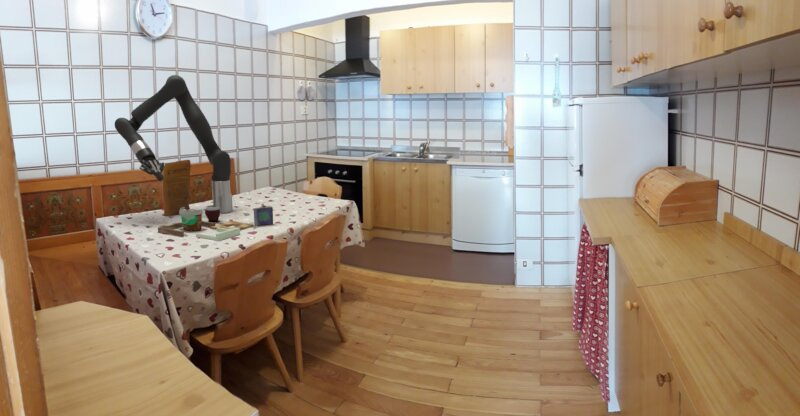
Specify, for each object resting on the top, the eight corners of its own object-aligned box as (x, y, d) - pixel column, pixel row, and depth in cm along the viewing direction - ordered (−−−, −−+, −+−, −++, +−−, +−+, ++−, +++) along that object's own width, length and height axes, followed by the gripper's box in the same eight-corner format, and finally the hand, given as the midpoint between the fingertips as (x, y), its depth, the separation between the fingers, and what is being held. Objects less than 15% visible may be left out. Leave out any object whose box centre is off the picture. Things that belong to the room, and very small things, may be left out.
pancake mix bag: (197, 211, 279) (194, 159, 273) (167, 217, 263) (163, 163, 257) (189, 209, 282) (185, 158, 277) (158, 216, 266) (154, 162, 260)
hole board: (232, 222, 254) (232, 220, 254) (253, 226, 248) (253, 224, 248) (210, 228, 242) (210, 226, 242) (232, 232, 236) (232, 230, 236)
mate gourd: (202, 222, 253) (200, 192, 250) (213, 219, 261) (212, 190, 258) (214, 224, 251) (213, 194, 248) (225, 221, 258) (224, 191, 255)
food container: (174, 229, 239) (172, 208, 237) (185, 227, 244) (183, 206, 242) (192, 233, 233) (191, 212, 231) (203, 230, 239) (202, 209, 237)
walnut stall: (192, 223, 251) (192, 219, 251) (215, 227, 244) (215, 223, 244) (158, 232, 234) (157, 227, 234) (181, 236, 227) (181, 232, 227)
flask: (254, 226, 248) (254, 204, 245) (253, 225, 250) (252, 203, 248) (273, 224, 252) (273, 203, 250) (272, 223, 255) (271, 202, 252)
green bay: (218, 230, 239) (218, 224, 238) (240, 234, 233) (239, 227, 233) (196, 236, 228) (195, 230, 227) (218, 240, 222) (217, 234, 221)
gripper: (133, 147, 240) (153, 176, 237) (158, 146, 252) (176, 173, 249) (127, 158, 244) (145, 186, 241) (151, 156, 255) (169, 183, 252)
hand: (161, 179), depth 245 cm, fingers closed
